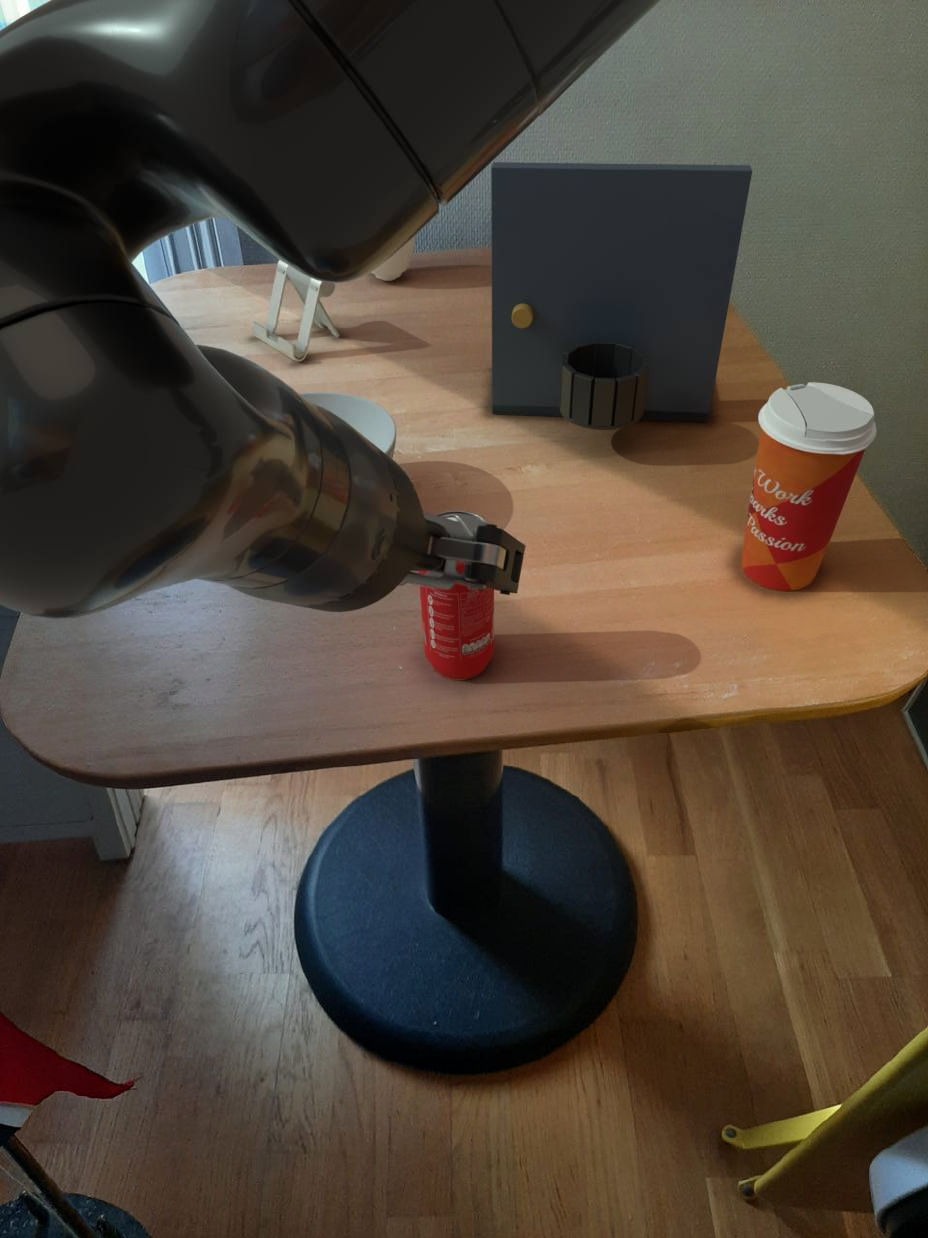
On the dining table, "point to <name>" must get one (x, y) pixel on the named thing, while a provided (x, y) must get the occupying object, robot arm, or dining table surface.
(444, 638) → the beverage can
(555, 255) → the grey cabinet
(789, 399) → the coffee cup
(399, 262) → the white air blower
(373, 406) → the chinaware
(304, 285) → the tablet stand
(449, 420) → the dining table surface
